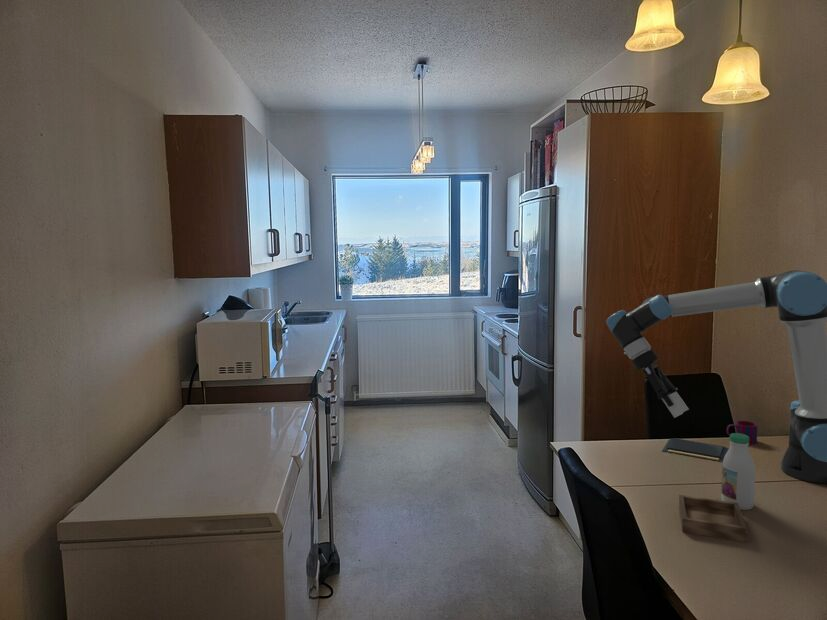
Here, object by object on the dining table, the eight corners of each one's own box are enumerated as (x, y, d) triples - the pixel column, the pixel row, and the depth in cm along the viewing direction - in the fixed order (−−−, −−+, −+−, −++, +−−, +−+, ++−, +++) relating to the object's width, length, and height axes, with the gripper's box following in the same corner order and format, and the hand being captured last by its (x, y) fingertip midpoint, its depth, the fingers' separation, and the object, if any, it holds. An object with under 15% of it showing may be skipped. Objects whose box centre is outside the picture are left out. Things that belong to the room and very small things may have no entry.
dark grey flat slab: (731, 445, 183) (725, 460, 171) (731, 450, 183) (725, 465, 171) (669, 435, 195) (660, 447, 184) (669, 440, 196) (660, 452, 184)
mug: (759, 445, 186) (760, 426, 185) (728, 443, 189) (729, 425, 188) (752, 438, 193) (753, 420, 192) (722, 437, 195) (723, 419, 194)
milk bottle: (749, 499, 147) (751, 431, 145) (757, 512, 139) (760, 441, 137) (718, 496, 149) (720, 429, 147) (724, 508, 142) (726, 439, 140)
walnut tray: (737, 515, 138) (737, 502, 138) (746, 542, 126) (747, 528, 125) (678, 506, 144) (679, 494, 144) (682, 531, 131) (682, 518, 131)
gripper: (638, 360, 178) (676, 415, 171) (622, 361, 158) (664, 423, 150) (658, 348, 175) (698, 404, 167) (644, 348, 155) (688, 411, 147)
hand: (682, 413), depth 159 cm, fingers open, 13 cm apart
